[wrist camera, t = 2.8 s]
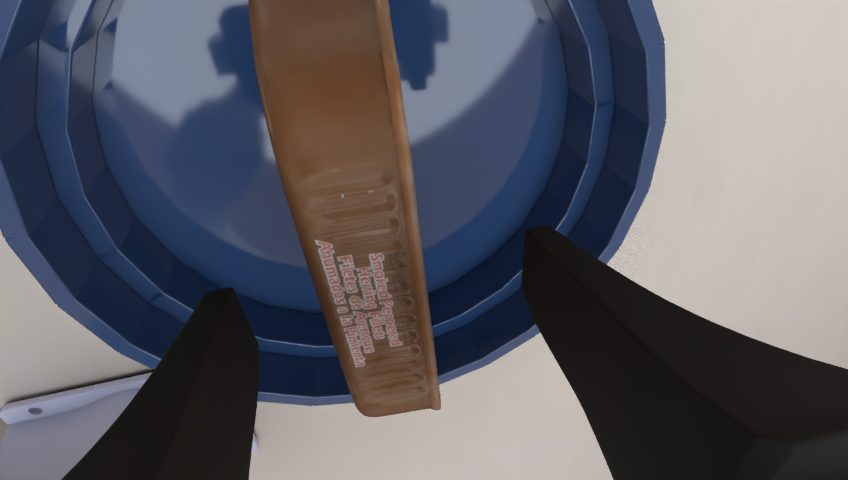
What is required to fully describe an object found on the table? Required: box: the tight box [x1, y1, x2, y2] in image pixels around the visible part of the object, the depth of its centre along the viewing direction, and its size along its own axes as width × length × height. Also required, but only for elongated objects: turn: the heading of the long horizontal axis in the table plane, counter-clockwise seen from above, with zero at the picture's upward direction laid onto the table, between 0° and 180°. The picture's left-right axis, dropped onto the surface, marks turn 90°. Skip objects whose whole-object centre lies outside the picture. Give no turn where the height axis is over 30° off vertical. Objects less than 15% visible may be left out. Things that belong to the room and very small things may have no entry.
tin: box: [248, 0, 441, 417], centre depth 15 cm, size 15×3×8 cm, turn 5°
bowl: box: [0, 0, 666, 406], centre depth 16 cm, size 19×19×4 cm
